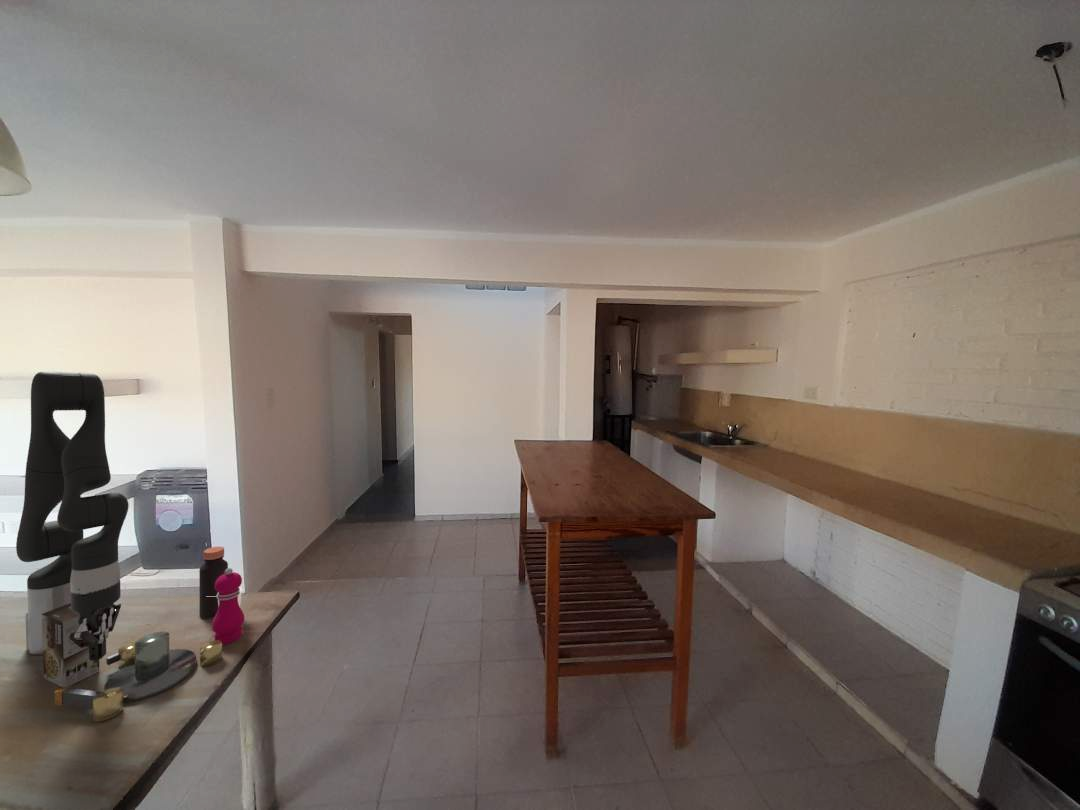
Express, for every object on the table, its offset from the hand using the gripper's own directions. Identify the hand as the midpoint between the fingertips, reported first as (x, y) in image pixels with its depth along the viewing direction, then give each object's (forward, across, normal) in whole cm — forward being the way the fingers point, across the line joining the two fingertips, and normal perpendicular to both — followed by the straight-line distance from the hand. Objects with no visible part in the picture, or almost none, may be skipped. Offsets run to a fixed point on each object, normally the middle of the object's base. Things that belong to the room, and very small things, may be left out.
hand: (97, 657), depth 91 cm
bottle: (+9, -31, +11) cm, 34 cm away
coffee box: (+9, -10, -10) cm, 16 cm away
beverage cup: (+9, -24, +17) cm, 31 cm away
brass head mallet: (+8, +5, +1) cm, 10 cm away
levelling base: (+9, -5, +8) cm, 13 cm away
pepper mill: (+9, -16, +20) cm, 27 cm away
